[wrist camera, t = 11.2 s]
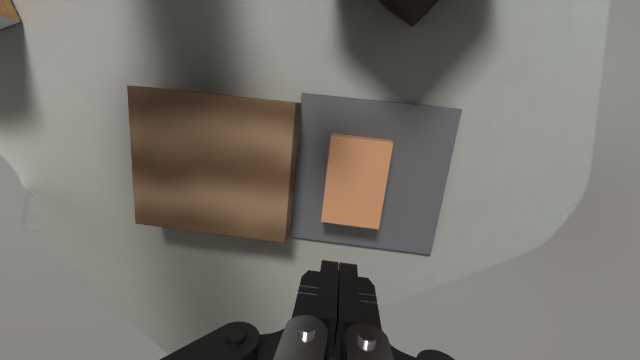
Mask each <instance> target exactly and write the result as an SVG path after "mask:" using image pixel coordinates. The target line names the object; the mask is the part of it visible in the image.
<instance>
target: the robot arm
mask: <svg viewBox="0 0 640 360" xmlns="http://www.w3.org/2000/svg"><path fill="white" fill-rule="evenodd" d="M338 265H339V271H338ZM331 358H332V360H454V359H453V358H452V357H450V356H449V355H447V354H445V353H443V352H440V351H437V350H424V351H421V352H420V353H419V354H418V355H417V357H416V358H415V357H413V356H410V355H408V354H405V353H403V352H401V351H399V350H397V349H395V348H394V347H393V346H391V345H390V343H389V340H388V338H387V336H386V334H385V333H384V332H383V331H382V329H381V323H380V317H379V311H378V305H377V299H376V293H375V287H374V285H373V284H372V282H371V281H370V280H369V279H368V278H364V277H358V273H357V265H356V264H348V263H341V262H340V264H339V262H333V261H325V260H322V264H321V271H320V272H318V271H310V270H308V271H307V272H306V273H305V274H304V275H303V276H302V278H301V282H300V286H299V290H298V294H297V299H296V303H295V307H294V311H293V315H292V319H291V320H289V321H288V323H287V324H286V326H285V328H284V329H282V330H280V331H278V332H275V333H271V334H263V335H259V332H258V330H257V329H256V327H254V326H253V325H251V324H249V323H246V322H232V323H229V324H226V325H224V326H222V327H220V328H218V329H217V330H215V331H213V332H211V333H209V334H207V335H205V336H203V337H201V338H200V339H198V340H196V341H194V342H192V343H190V344H188V345H186V346H185V347H183V348H181V349H179V350H177V351H175V352H173V353H171V354H169V355H168V356H166V357H164V358H162V359H160V360H331Z"/></svg>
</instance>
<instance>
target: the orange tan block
mask: <svg viewBox="0 0 640 360" xmlns="http://www.w3.org/2000/svg"><path fill="white" fill-rule="evenodd" d="M392 148H393V142H392V141H390V140H386V139H378V138H369V137H360V136H352V135H343V134H334V133H332V134H331V140H330V148H329V157H328V166H327V174H326V183H325V192H324V200H323V209H322V218H321V222H326V223H334V224H341V225H349V226H356V227H364V228H372V229H379V225H380V219H381V213H382V207H383V201H384V195H385V189H386V183H387V177H388V171H389V165H390V160H391V154H392Z"/></svg>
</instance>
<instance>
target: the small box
mask: <svg viewBox="0 0 640 360" xmlns="http://www.w3.org/2000/svg"><path fill="white" fill-rule="evenodd" d="M19 22H20V18H19V16H18V14H17V12H16V10H15V8H14V6H13V4H12V2H11V0H0V29H2V28H5V27H8V26H10V25H13V24H16V23H19Z"/></svg>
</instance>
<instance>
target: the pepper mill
mask: <svg viewBox="0 0 640 360" xmlns="http://www.w3.org/2000/svg"><path fill="white" fill-rule="evenodd" d="M378 1H379V2H380V3H381V4H382V5H383V6H384V7H385V8H386V9H387V10H389V11H390V12H392V13H393V14H395V15H396V16H398V17H399V18H401V19H402V20H404V21H405V22H407V23H408V24H410V25H411V26H414V25H415V24H416V23H417V22H418V21H419V20H420V19H421V18H422V17H423V16H424V15H425V14H426V13H427V12H428V11H429V10H430V9H431V8H432V7H433V6H434V5H435V3H436V2H437V1H438V0H378Z"/></svg>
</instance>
